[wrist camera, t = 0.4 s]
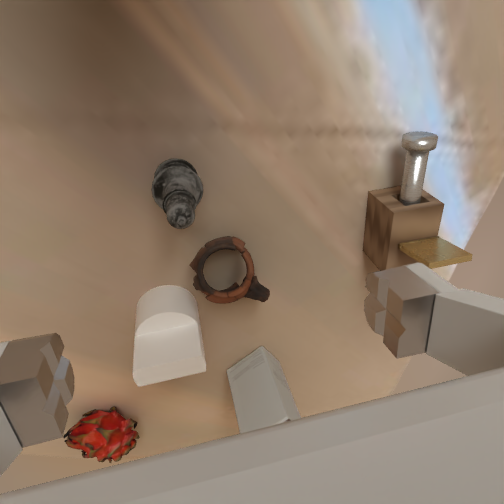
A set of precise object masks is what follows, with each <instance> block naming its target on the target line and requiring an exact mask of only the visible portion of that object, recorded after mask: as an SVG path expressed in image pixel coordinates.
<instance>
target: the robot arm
mask: <svg viewBox="0 0 504 504" xmlns="http://www.w3.org/2000/svg"><path fill="white" fill-rule="evenodd" d="M365 287H366V288H367V289H368V291H369V292H370V293H369V295H368V296H367V298H366V299H365V302H364V311H365V316H366V320H367V322H368V324H369V326H370V327H371V328H372V330H373V331H374V332H375V333H378V334H380V335H382V336H384V338H383V343H384V344H385V345H386V347H387V348H388V349H389V350H390V351H391V352H392V354H393V355H394V356H395V357H396V358H402V357H407V356H412V355H416V354H421V353H426V354H427V355H429V356H431V357H433V358H435V359H437V360H439V361H441V362H443V363H444V364H447V365H448V366H450V367H452V368H454V369H456V370H458V371H460V372H462V373H464V374H465V375H467V377H462V378H458V379H455V380H451V381H446V382H443V383H439V384H435V385H430V386H427V387H423V388H419V389H415V390H411V391H407V392H403V393H399V394H395V395H391V396H387V397H383V398H379V399H375V400H371V401H367V402H363V403H359V404H355V405H351V406H347V407H343V408H339V409H335V410H331V411H327V412H323V413H319V414H315V415H311V416H307V417H303V418H299V419H296V420H292V421H288V422H284V423H280V424H276V425H272V426H268V427H264V428H260V429H256V430H252V431H248V432H244V433H241V434H237V435H233V436H229V437H225V438H221V439H217V440H213V441H209V442H205V443H201V444H197V445H193V446H189V447H185V448H181V449H177V450H173V451H169V452H165V453H161V454H157V455H153V456H149V457H145V458H141V459H138V460H134V461H130V462H126V463H122V464H118V465H114V466H110V467H106V468H102V469H98V470H94V471H90V472H86V473H82V474H78V475H74V476H71V477H66V478H62V479H58V480H54V481H50V482H46V483H42V484H38V485H34V486H30V487H27V488H23V489H19V490H15V491H11V492H7V493H3V494H0V504H504V299H501V298H498V297H494V296H490V295H486V294H483V293H479V292H475V291H471V290H468V289H457V288H456V287H454V286H453V285H452V284H450V283H449V282H448V281H446V280H445V279H444V278H442V277H441V276H439V275H438V274H437V273H435V272H434V271H432V270H431V269H430V268H428V267H427V266H425V265H424V264H423V263H418V262H417V263H413V264H408V265H404V266H401V267H396V268H391V269H387V270H382V271H377V272H373V273H368V275H367V278H366V286H365ZM63 349H64V344H63V342H62V340H61V337H60V335H58V334H57V333H52V334H46V335H40V336H34V337H29V338H23V339H17V340H12V341H5V342H0V476H1V475H2V474H3V473H4V471H5V470H6V469H7V468H8V467H9V466H10V464H11V463H12V462H13V461H14V459H15V458H16V457H17V456H18V455H19V454H20V452H21V451H22V450H23V449H22V448H23V447H27V446H31V445H35V444H39V443H42V442H46V441H50V440H54V439H58V438H61V437H63V434H64V430H65V426H66V422H67V418H68V414H69V413H68V411H67V408H66V405H67V404H68V403H69V402H70V401H71V400H72V398H73V393H74V374H73V369H72V366H71V363H70V360H68V359H66V358H65V357H63V356H62V352H63Z"/></svg>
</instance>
